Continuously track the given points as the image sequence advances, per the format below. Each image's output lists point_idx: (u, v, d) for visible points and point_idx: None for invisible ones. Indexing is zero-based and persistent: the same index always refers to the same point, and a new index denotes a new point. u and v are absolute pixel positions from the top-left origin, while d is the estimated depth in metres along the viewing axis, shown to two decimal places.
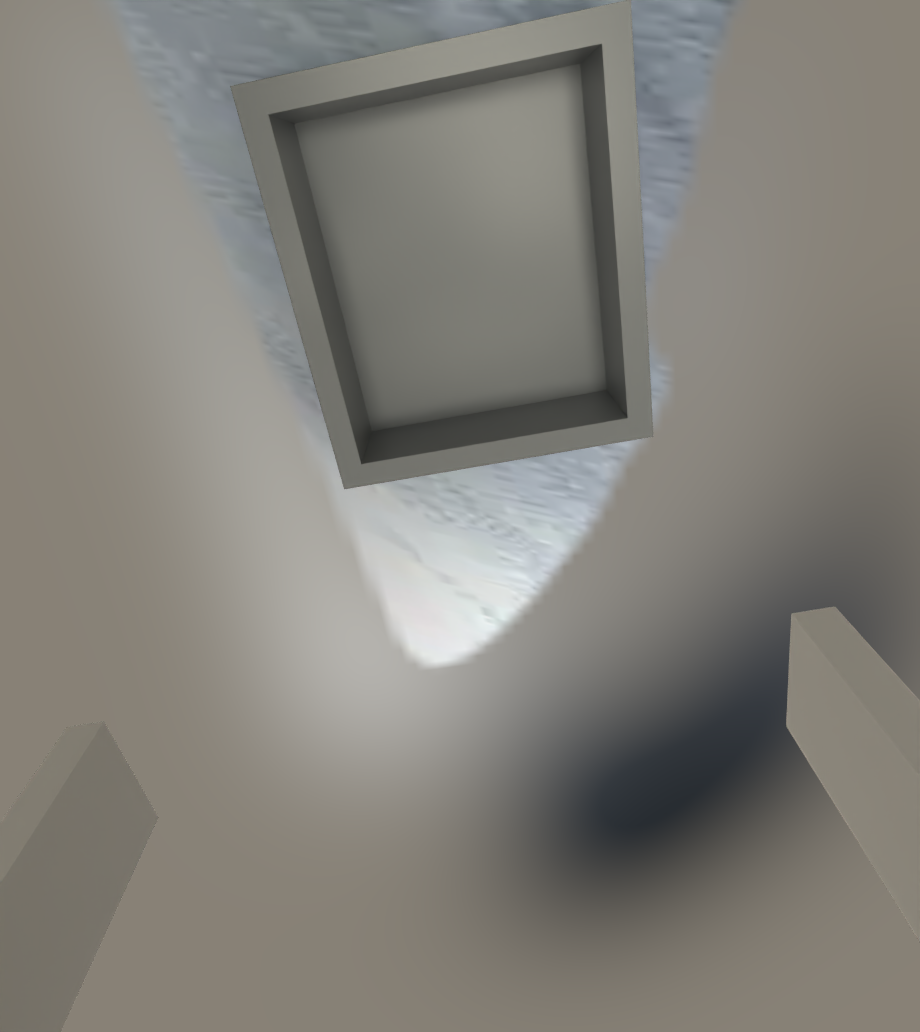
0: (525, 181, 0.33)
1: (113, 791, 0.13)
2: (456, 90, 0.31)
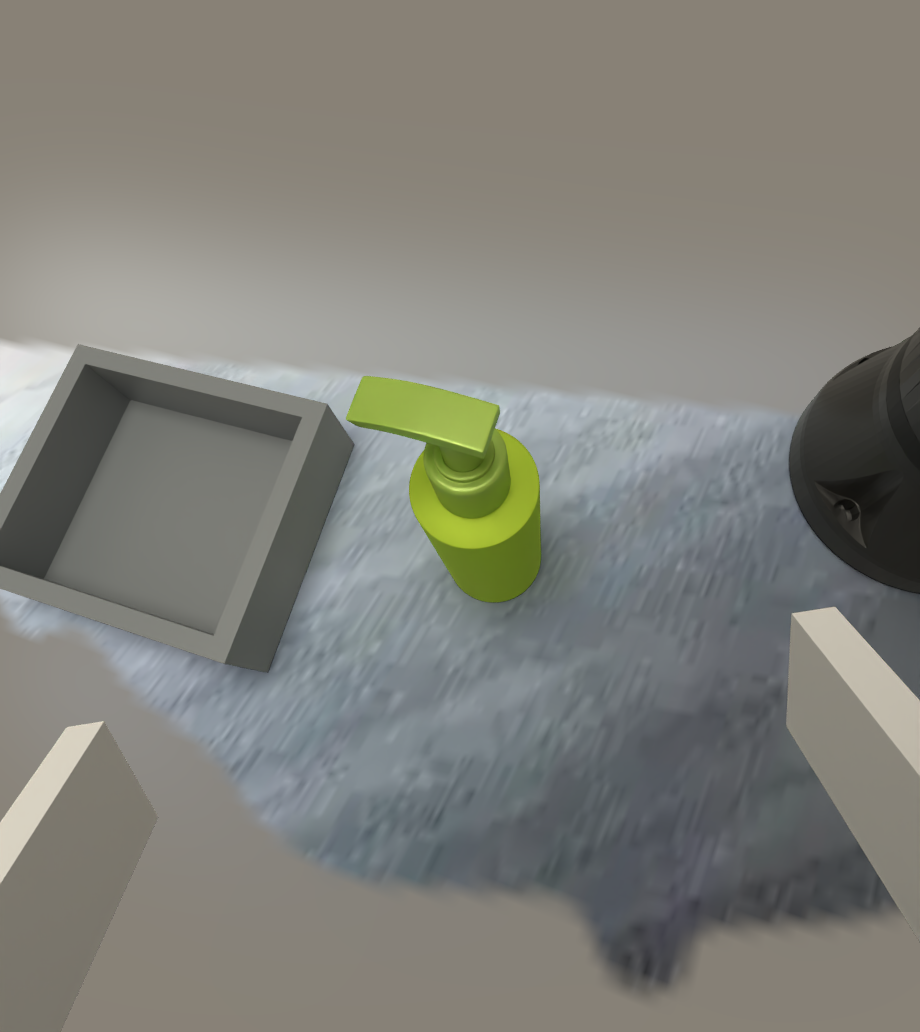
0: (209, 579, 0.43)
1: (113, 791, 0.13)
2: None
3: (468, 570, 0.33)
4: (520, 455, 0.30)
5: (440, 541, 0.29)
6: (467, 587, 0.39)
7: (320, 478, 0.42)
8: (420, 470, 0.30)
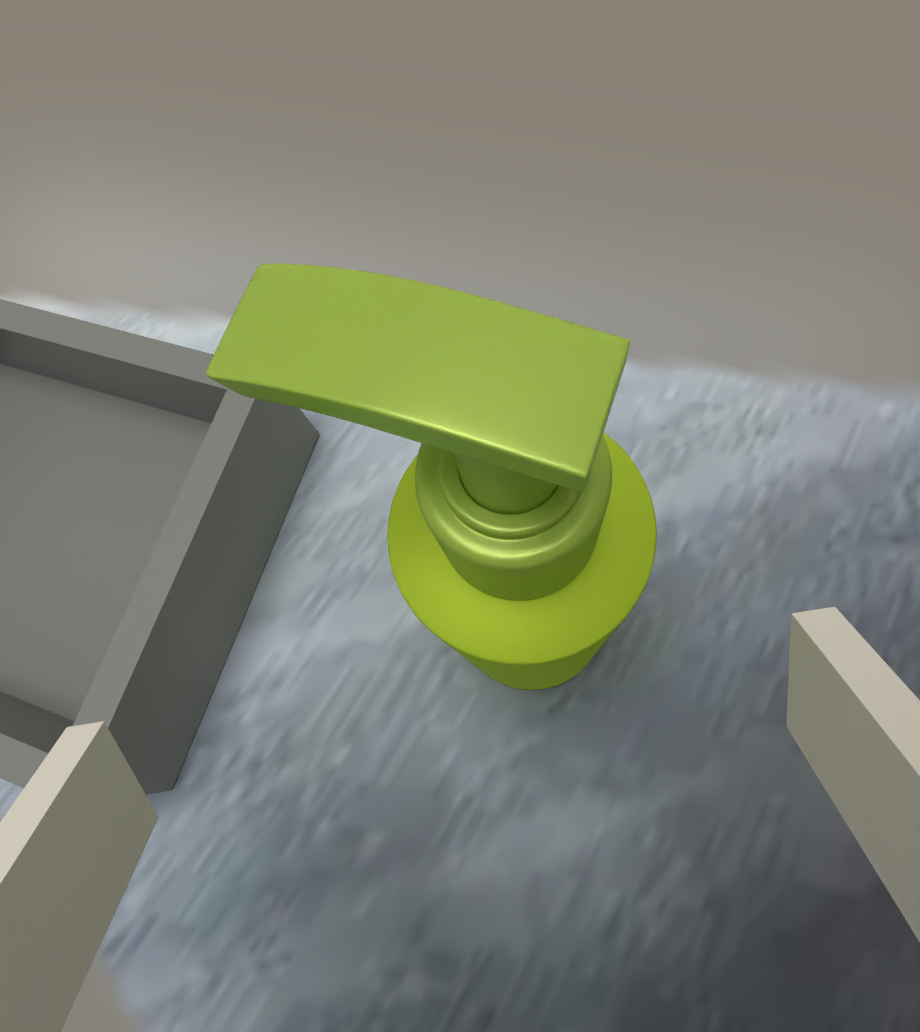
0: (89, 639, 0.28)
1: (113, 791, 0.13)
2: None
3: (498, 673, 0.18)
4: (616, 468, 0.15)
5: (449, 643, 0.14)
6: (489, 676, 0.23)
7: (260, 487, 0.27)
8: (411, 493, 0.15)
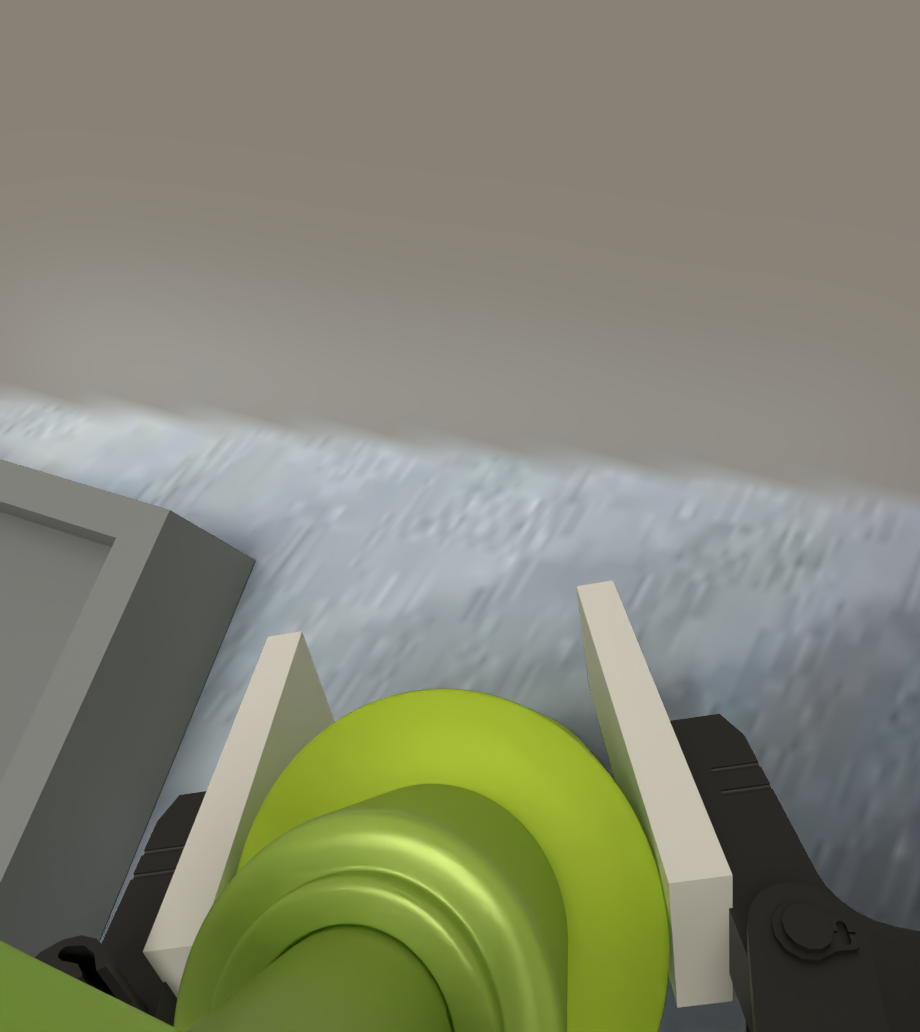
0: None
1: (311, 693, 0.14)
2: None
3: None
4: (599, 817, 0.09)
5: None
6: None
7: (169, 649, 0.21)
8: None
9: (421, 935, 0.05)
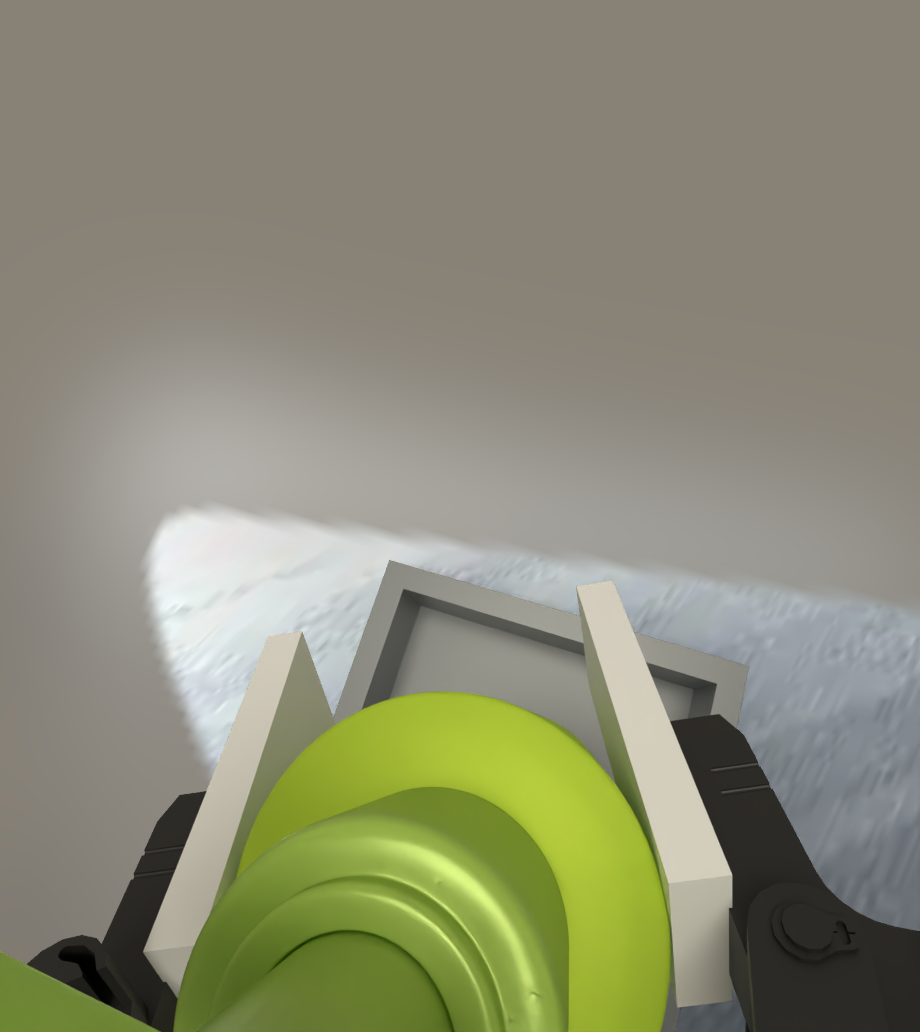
0: None
1: (311, 693, 0.14)
2: None
3: None
4: (599, 821, 0.09)
5: None
6: None
7: None
8: None
9: (421, 941, 0.05)
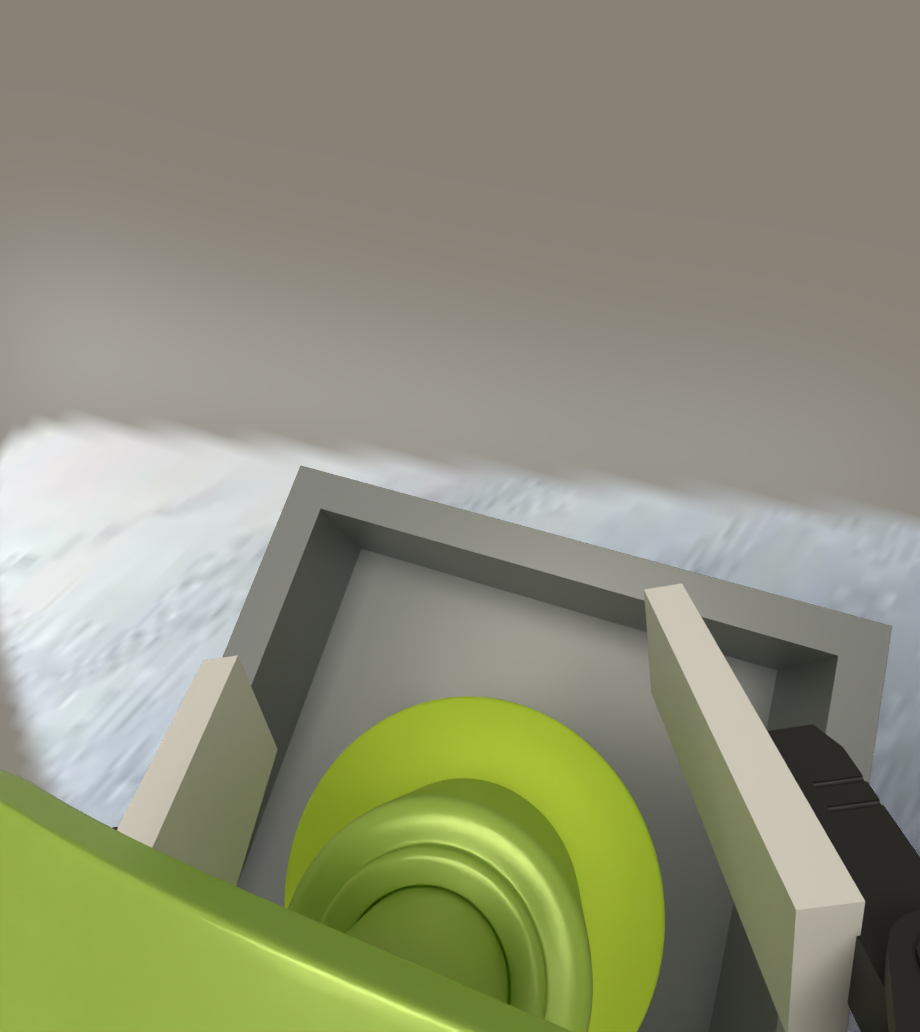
0: None
1: (247, 719, 0.14)
2: (730, 914, 0.21)
3: None
4: (606, 808, 0.10)
5: None
6: None
7: None
8: (317, 834, 0.11)
9: (481, 892, 0.07)
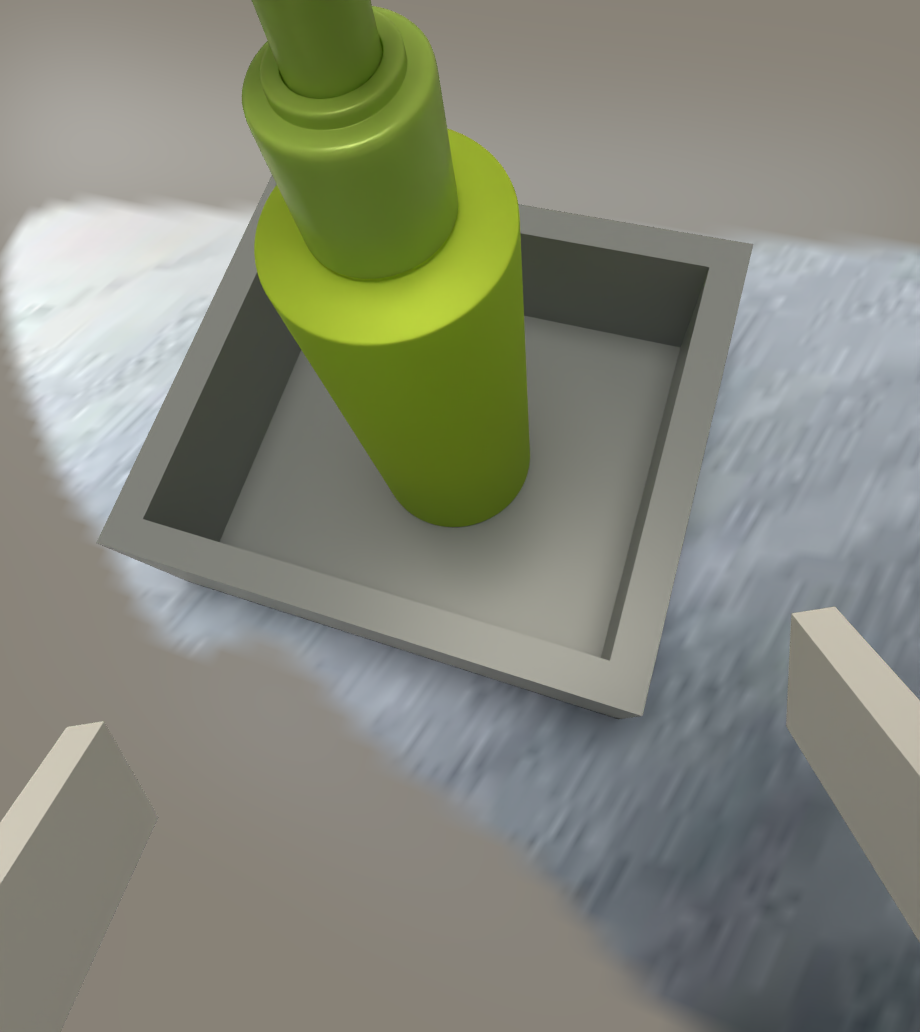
0: (503, 558, 0.25)
1: (113, 791, 0.13)
2: (634, 523, 0.25)
3: (390, 434, 0.18)
4: (481, 165, 0.14)
5: (310, 334, 0.14)
6: (405, 492, 0.23)
7: None
8: (278, 201, 0.15)
9: None
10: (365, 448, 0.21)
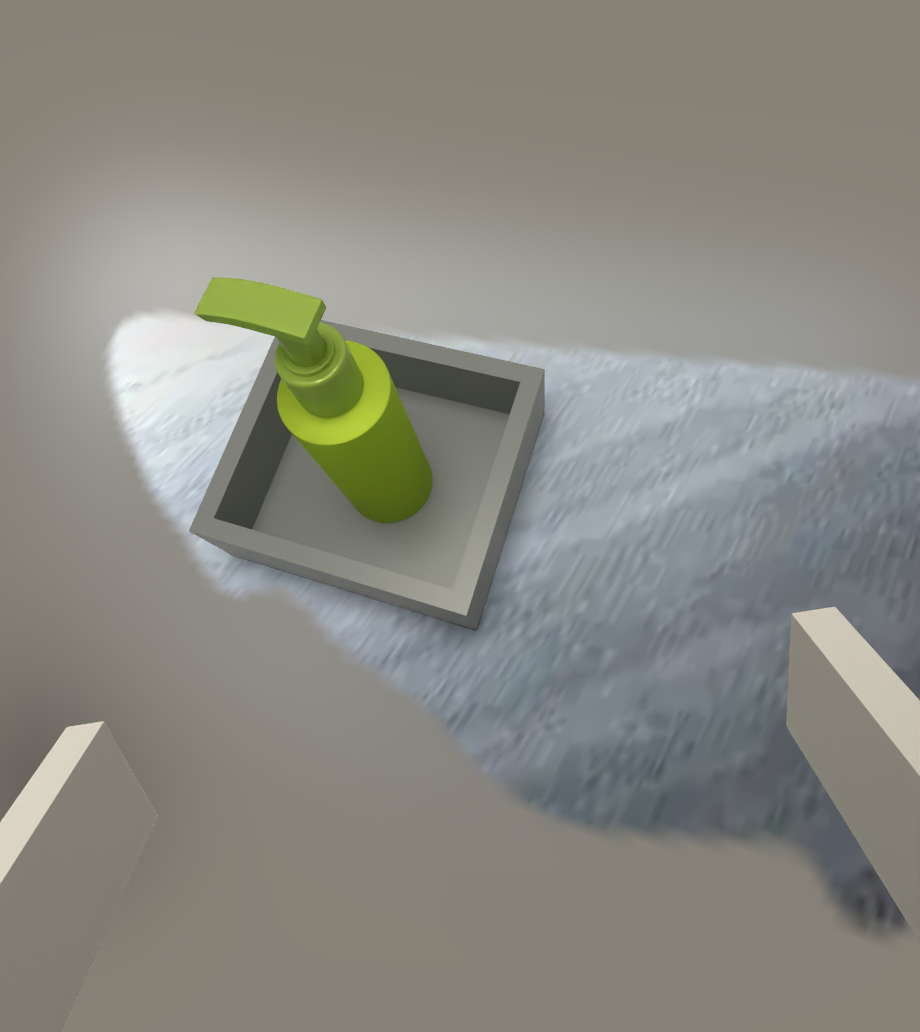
0: (414, 541, 0.44)
1: (113, 791, 0.13)
2: None
3: (341, 476, 0.37)
4: (375, 364, 0.33)
5: (301, 439, 0.33)
6: (356, 503, 0.42)
7: (528, 443, 0.43)
8: None
9: (321, 332, 0.30)
10: None
